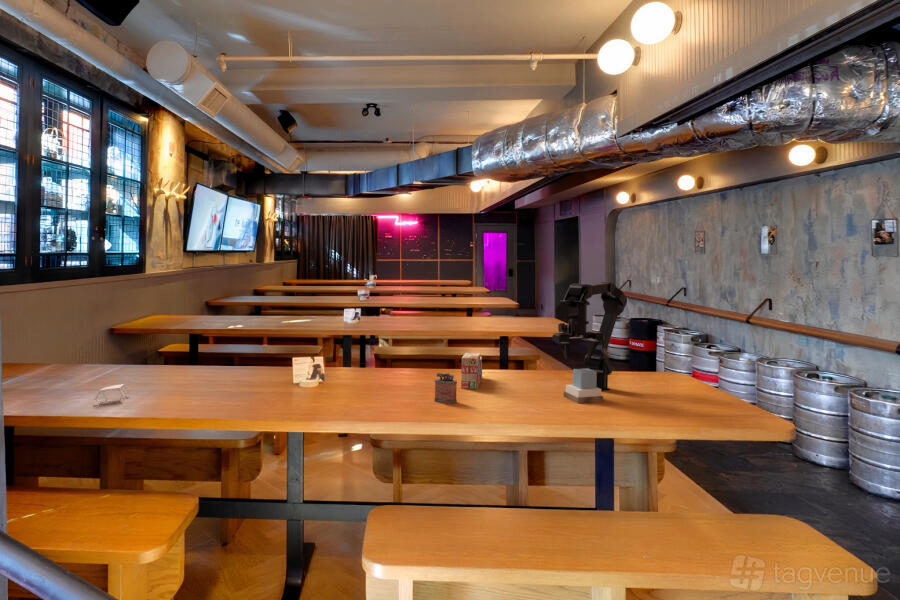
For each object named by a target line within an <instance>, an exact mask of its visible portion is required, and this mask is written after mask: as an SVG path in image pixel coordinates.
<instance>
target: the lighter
mask: <svg viewBox="0 0 900 600" xmlns="http://www.w3.org/2000/svg"><path fill="white" fill-rule="evenodd" d="M436 377H438V378H434V400H433V401H434V402H436V403H441V402H442V403H444V404H457V403H458V400H457V383H458V380H455V379H454V377H455V375H454V374H450V373H449V372H446V373H443V372H437V373H436Z"/></svg>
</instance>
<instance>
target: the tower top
mask: <svg viewBox="0 0 900 600" xmlns="http://www.w3.org/2000/svg"><path fill="white" fill-rule="evenodd" d="M565 391H566V392H567V393H569V394H571V395H574V396H576V397H578V398H580V397H595V396H602V390H601V389H600V388H597V387H596V388H595V389H579V388H577V387H575V386H573V384H566V385H565Z"/></svg>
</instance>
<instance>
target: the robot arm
mask: <svg viewBox="0 0 900 600" xmlns="http://www.w3.org/2000/svg"><path fill="white" fill-rule="evenodd" d="M594 295H600V299H601V301H602V307H603V310H604V311H603V312H604V314H603V316H602V317H603V318H602V320H601V323H600V327H599V330H598V331H596V330H593V331H587V328H588V327H587V325H589V320H587V317H588V306H590V305H591V302H589V301H588V300H589V299H591V298H592V297H593V296H594ZM627 303H628V298H627V296H626V295H625V293H624V292H623V291H622V290H621V289H620V288H618V287H617V286H616V285H615V283H614V282H612V281H601V282H599V283H598V282H597V283H591V284H590V283H589V284H588V283H571V284H570V285H569V287H568V289H567V290H566V292H565V295H564V298H563V299H562V300H560V303H559V304H558V305H557V306H556V309H555V315H556V317H557V318H558V319H559V320H561V321H563V320H564V321H565V320H568V321H567V322H568V324H565V323H564V322H560V323H559V324H558V326H557V327H558V328H557V329H558V332H554V333H553V334H552V336H551V337H552V338H551V340H552V341H553V342H555V343H556V344H558V345H559V347H560V348H561V350H562V353H563V356H564V359H565V362H567V361H568V362H569V359H570V348H571V342H569V341H570V340H571V341H572V340H585V341H586V343H587V348H586V349H587V350H586V354H585V355H584V362H583V363H584V366H585V367H584V369H587V368H588V369H591V370H594V371H596V372H597V382H596V387H597V388H600V389H601V391H609V390H610V389H611V388H609V387H608V381H609V380H608V379H609V376H610V375H612V373H613V367H612V365H611V364H610V361H609V359H610V357H609V353H608V348H609V345H610V341H611V338H612V335H613V332H614V328H615V325H616V322H617V318H618V316H620V315H621V314H622V313H623V312H624V310H625V307H626V306H627Z"/></svg>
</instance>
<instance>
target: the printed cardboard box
mask: <svg viewBox="0 0 900 600" xmlns="http://www.w3.org/2000/svg"><path fill="white" fill-rule="evenodd" d="M460 373H461V380H460V383H461V385H460V388H461V389H462V388H464V389H467V390H478V388H479V386H480V383H481V382H482V378H483V356H481V352H465V353H464V355H463V356H462V357H461V372H460ZM464 389H463V390H464Z"/></svg>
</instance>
